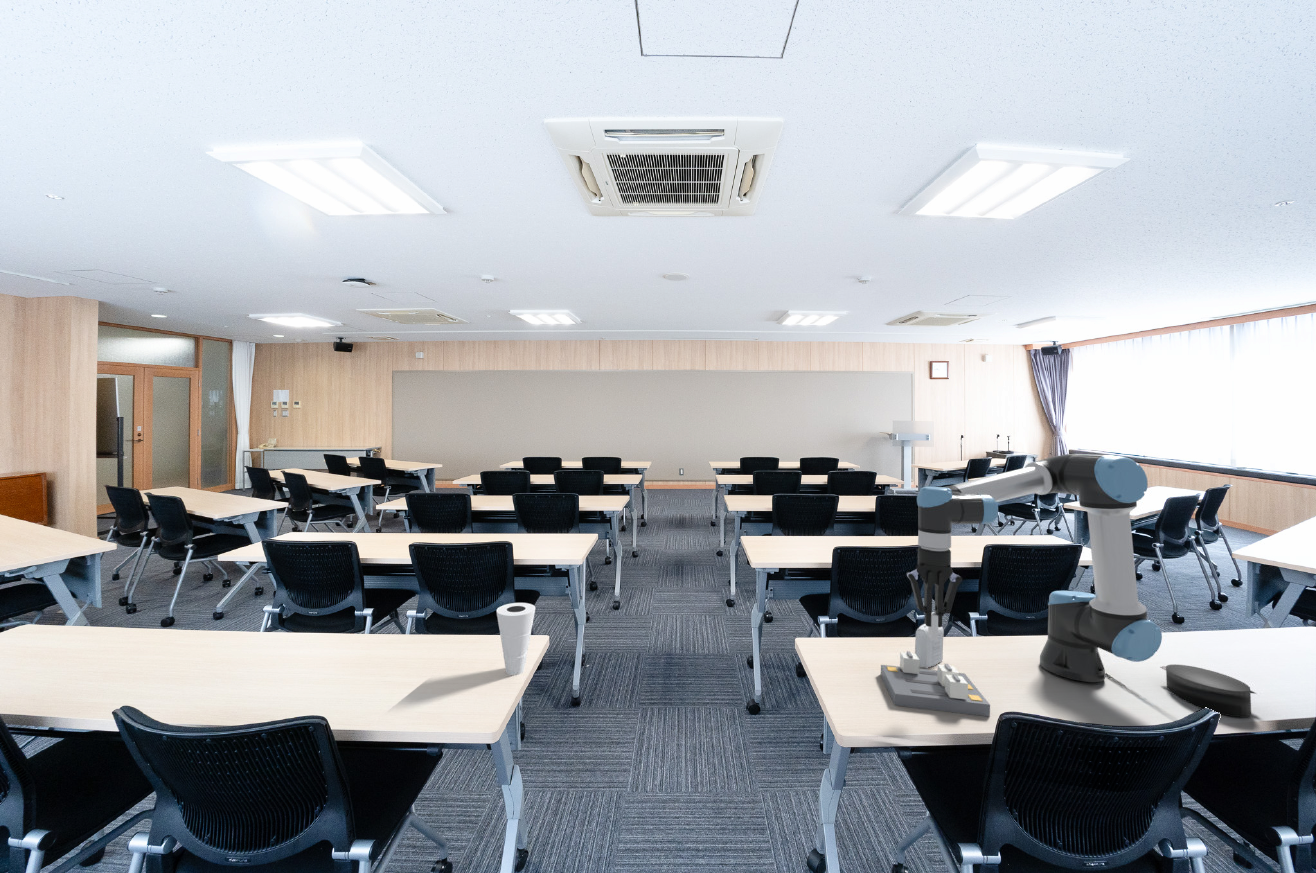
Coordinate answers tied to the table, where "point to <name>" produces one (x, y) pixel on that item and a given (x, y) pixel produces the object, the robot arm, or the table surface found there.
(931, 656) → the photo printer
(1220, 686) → the dark grey oval block
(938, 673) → the slider mid
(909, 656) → the slider
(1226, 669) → the table surface
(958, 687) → the slider
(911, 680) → the console
